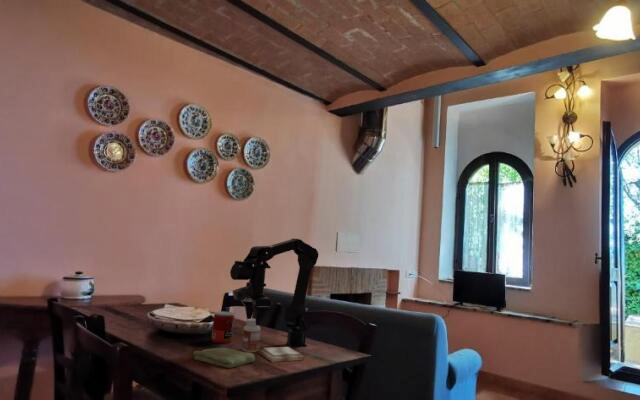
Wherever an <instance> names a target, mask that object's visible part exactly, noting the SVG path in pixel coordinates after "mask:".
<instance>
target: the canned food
mask: <svg viewBox="0 0 640 400" xmlns="http://www.w3.org/2000/svg"><path fill="white" fill-rule="evenodd" d="M234 323H235V312H231V311H222V310H221V311H220V310H219V311H215V312H214V315H213V325H212V332H211V341H212V343H215V344H223V345H224V344H230V343H231V342H232V340H233V333H234V325H235V324H234Z"/></svg>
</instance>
